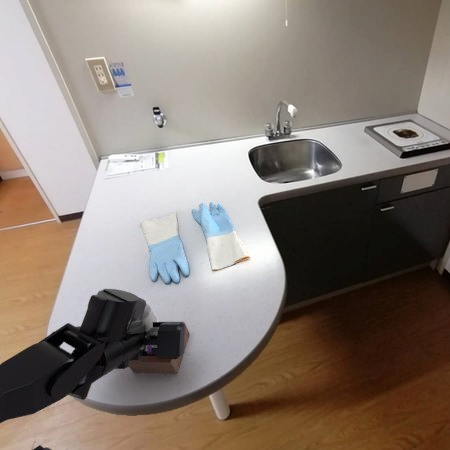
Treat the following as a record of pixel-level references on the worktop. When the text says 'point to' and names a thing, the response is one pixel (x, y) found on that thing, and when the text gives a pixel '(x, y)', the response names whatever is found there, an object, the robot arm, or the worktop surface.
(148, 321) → the container
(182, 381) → the worktop surface
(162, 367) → the frame
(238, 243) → the rubber gloves
